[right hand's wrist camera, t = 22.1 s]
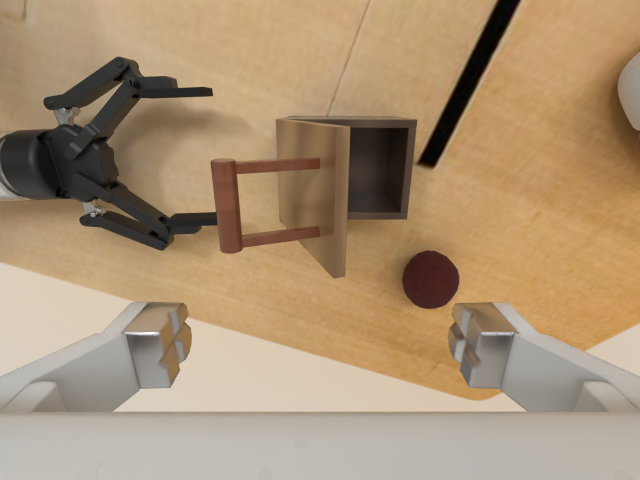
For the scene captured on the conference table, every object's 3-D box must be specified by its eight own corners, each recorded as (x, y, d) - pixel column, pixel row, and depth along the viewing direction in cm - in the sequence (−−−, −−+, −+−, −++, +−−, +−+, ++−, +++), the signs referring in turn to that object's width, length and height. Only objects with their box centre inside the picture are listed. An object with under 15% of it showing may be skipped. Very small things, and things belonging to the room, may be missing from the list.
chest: (395, 116, 41) (417, 119, 32) (389, 197, 45) (407, 219, 36) (289, 116, 41) (280, 118, 32) (291, 196, 45) (284, 219, 36)
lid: (351, 126, 20) (211, 128, 17) (345, 276, 24) (229, 298, 21) (285, 119, 32) (195, 119, 29) (288, 220, 36) (209, 229, 33)
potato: (398, 294, 50) (410, 322, 44) (395, 246, 48) (407, 268, 41) (448, 288, 50) (468, 315, 43) (448, 239, 47) (469, 261, 41)
